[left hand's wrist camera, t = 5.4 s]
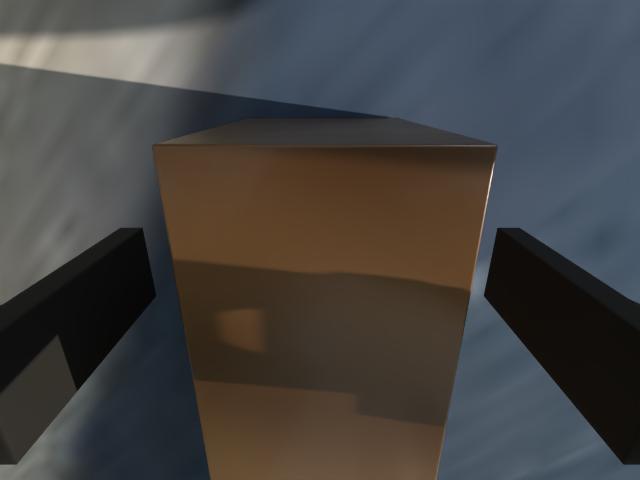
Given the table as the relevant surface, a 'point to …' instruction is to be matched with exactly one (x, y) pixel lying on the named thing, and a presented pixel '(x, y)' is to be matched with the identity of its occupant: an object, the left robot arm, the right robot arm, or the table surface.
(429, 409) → the post
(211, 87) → the table surface
